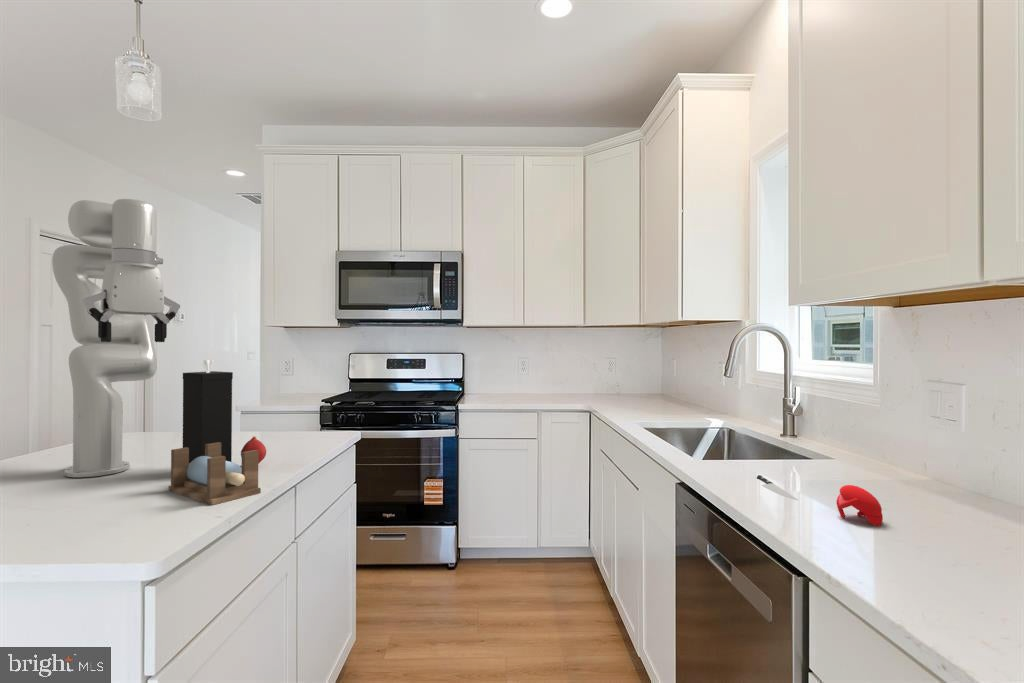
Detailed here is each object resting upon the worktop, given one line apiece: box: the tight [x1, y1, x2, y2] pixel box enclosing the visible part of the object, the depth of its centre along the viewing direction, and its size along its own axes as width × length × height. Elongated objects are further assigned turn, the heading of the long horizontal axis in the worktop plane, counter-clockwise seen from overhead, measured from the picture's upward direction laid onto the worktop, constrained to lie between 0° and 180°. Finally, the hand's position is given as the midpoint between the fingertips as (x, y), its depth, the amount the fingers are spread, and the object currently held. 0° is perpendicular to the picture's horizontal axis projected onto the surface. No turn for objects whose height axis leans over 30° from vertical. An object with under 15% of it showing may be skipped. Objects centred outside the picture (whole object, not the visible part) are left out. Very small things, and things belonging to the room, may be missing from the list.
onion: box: [240, 435, 267, 465], centre depth 132 cm, size 6×6×8 cm
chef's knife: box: [756, 475, 799, 501], centre depth 115 cm, size 19×1×3 cm
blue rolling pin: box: [187, 456, 245, 487], centre depth 110 cm, size 19×6×6 cm, turn 58°
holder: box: [168, 442, 262, 506], centre depth 110 cm, size 18×10×9 cm, turn 57°
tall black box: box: [182, 358, 234, 463], centre depth 127 cm, size 8×8×28 cm
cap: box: [836, 484, 883, 527], centre depth 95 cm, size 8×6×6 cm
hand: (133, 341), depth 107 cm, fingers open, 9 cm apart
